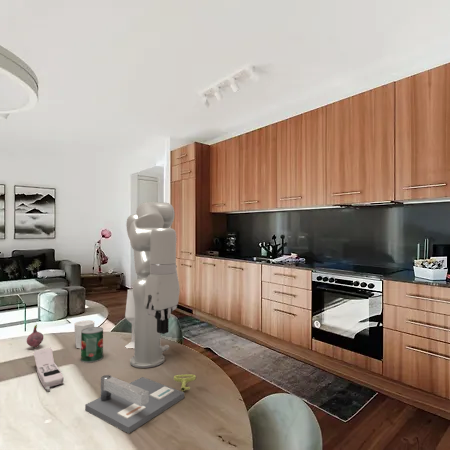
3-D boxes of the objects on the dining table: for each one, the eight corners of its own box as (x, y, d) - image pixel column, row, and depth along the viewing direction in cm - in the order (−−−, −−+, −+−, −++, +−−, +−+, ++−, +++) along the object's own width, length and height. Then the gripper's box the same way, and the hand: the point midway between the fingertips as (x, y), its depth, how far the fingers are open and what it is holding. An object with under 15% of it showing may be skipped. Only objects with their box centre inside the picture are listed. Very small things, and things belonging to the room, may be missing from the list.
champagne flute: (144, 344, 136) (144, 289, 137) (134, 349, 129) (135, 291, 130) (131, 342, 138) (131, 288, 139) (121, 347, 132) (122, 290, 133)
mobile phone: (51, 346, 117) (66, 368, 97) (51, 362, 117) (66, 387, 97) (32, 350, 113) (44, 374, 94) (32, 367, 113) (44, 393, 94)
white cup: (98, 345, 135) (98, 322, 135) (81, 350, 128) (81, 326, 128) (86, 341, 139) (87, 319, 139) (70, 347, 132) (70, 323, 132)
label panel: (142, 381, 101) (142, 375, 101) (184, 397, 91) (184, 391, 91) (85, 410, 84) (85, 403, 84) (128, 433, 74) (128, 425, 74)
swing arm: (107, 394, 89) (107, 374, 90) (149, 413, 80) (149, 390, 80) (98, 398, 87) (98, 377, 87) (140, 418, 77) (140, 395, 78)
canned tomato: (106, 358, 120) (106, 329, 120) (85, 364, 114) (86, 334, 115) (97, 353, 126) (97, 325, 126) (77, 358, 120) (77, 329, 120)
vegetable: (27, 352, 127) (27, 327, 127) (25, 347, 132) (26, 323, 132) (44, 348, 130) (44, 324, 131) (42, 344, 135) (42, 321, 136)
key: (181, 395, 93) (181, 388, 93) (172, 378, 104) (172, 372, 104) (204, 391, 96) (204, 384, 96) (192, 375, 107) (193, 368, 107)
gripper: (171, 266, 100) (171, 324, 99) (134, 271, 88) (133, 337, 87) (189, 268, 96) (189, 328, 95) (152, 273, 83) (152, 342, 83)
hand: (162, 332), depth 91 cm, fingers closed
